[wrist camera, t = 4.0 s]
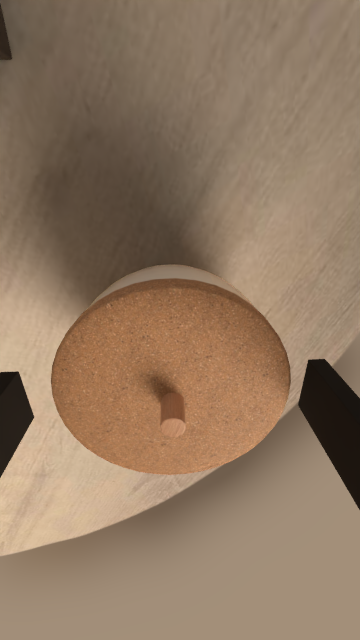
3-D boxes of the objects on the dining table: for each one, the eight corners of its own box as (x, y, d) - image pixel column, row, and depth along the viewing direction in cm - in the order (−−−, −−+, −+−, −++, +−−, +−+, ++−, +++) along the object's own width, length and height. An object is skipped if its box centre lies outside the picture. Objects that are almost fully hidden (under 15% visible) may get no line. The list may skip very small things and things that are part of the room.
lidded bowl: (79, 361, 21) (17, 484, 12) (115, 217, 16) (57, 255, 8) (212, 396, 23) (237, 523, 14) (275, 276, 18) (366, 357, 10)
